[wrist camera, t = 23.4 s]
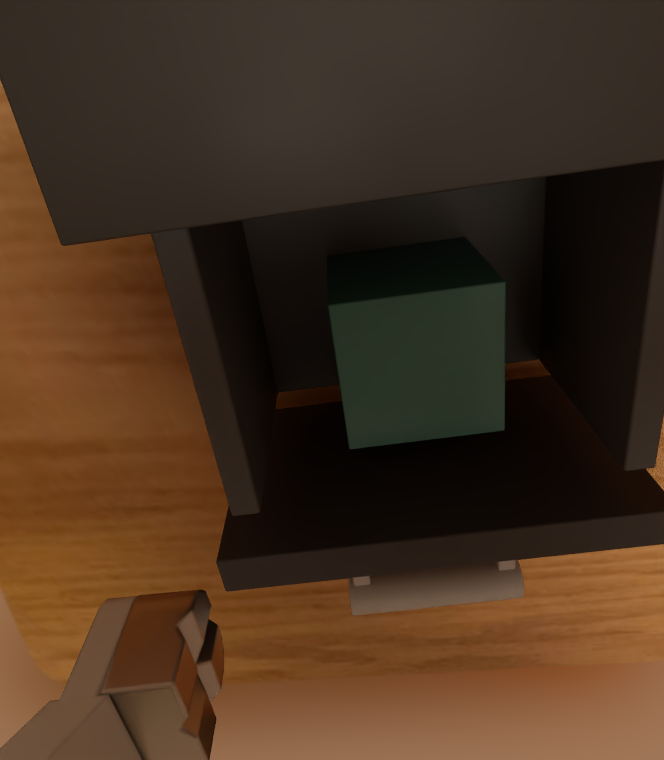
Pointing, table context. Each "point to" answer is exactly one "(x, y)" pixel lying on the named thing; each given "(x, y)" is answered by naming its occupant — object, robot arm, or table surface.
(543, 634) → the table surface
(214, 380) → the pull-out drawer
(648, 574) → the table surface
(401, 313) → the block
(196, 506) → the table surface
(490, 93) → the dark drawer cabinet
